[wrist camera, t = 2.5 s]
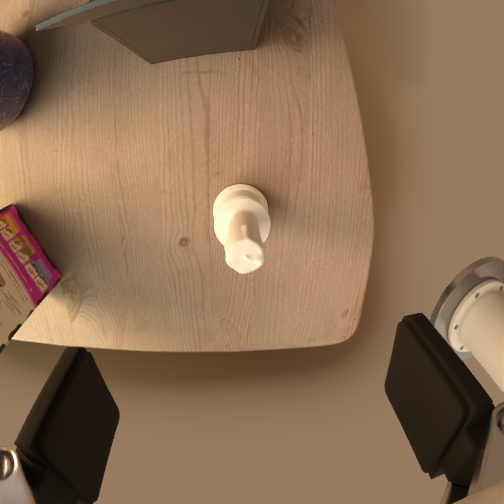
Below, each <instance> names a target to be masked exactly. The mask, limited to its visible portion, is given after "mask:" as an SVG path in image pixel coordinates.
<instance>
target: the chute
mask: <svg viewBox="0 0 504 504" xmlns="http://www.w3.org/2000/svg"><path fill="white" fill-rule="evenodd" d="M92 1H95V0H89V2H92ZM269 2H270V0H166V1H161V2H156V3H152V4H147V5H143V6H139V7H135V8H131V9H128V10H124V11H120V12H117V13H114V14H110V15H107V16H104V17H101V18H98V19H95V20H92V21H89V23H90V24H92V25H94V26H95V27H97V28H98V29H100V30H101V31H103V32H104V33H106V34H108V35H109V36H111V37H112V38H114V39H115V40H117V41H118V42H120V43H121V44H123V45H124V46H126V47H127V48H128V49H130V50H131V51H133V52H134V53H136V54H137V55H139V56H140V57H141V58H143V59H144V60H146V61H147V62H149V63H150V64H155V63H160V62H165V61H170V60H176V59H181V58H187V57H194V56H200V55H207V54H215V53H224V52H233V51H244V50H255V47H256V44H257V40H258V37H259V34H260V31H261V27H262V24H263V21H264V18H265V15H266V12H267V9H268V5H269Z"/></svg>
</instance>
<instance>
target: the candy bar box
mask: <svg viewBox="0 0 504 504" xmlns="http://www.w3.org/2000/svg"><path fill="white" fill-rule="evenodd" d="M61 279H62V276H61V274H60V273H59V272H58V270H57V269H56V268H55V266H54V265H53V263H52V262H51V261H50V259H49V258H48V257H47V255H46V254H45V252H44V251H43V249H42V248H41V247H40V245H39V244H38V242H37V241H36V239H35V238H34V236H33V235H32V233H31V232H30V230H29V229H28V227H27V226H26V224H25V223H24V221H23V219H22V218H21V216H20V214H19V213H18V211H17V209H16V208H15V206H14V204H10V205H8V206H6V207H4V208H2V209H1V210H0V353H1V352H2V350H3V349H4V347H5V346H6V345H7V344H8V342H9V341H10V340H11V338H12V337H13V336H14V334H15V333H16V332H17V331H18V330H19V328H20V327H21V326H22V324H23V323H24V322H25V321H26V320H27V318H28V317H29V316H30V315H31V314H32V312H33V311H34V310H35V309H36V307H37V306H38V305H39V304H40V303H41V302H42V301H43V299H44V298H45V297H46V296H47V295H48V294H49V292H50V291H51V290H52V289H53V288H54V287H55V286H56V285H57V284H58V283H59V282H60V280H61Z"/></svg>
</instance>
